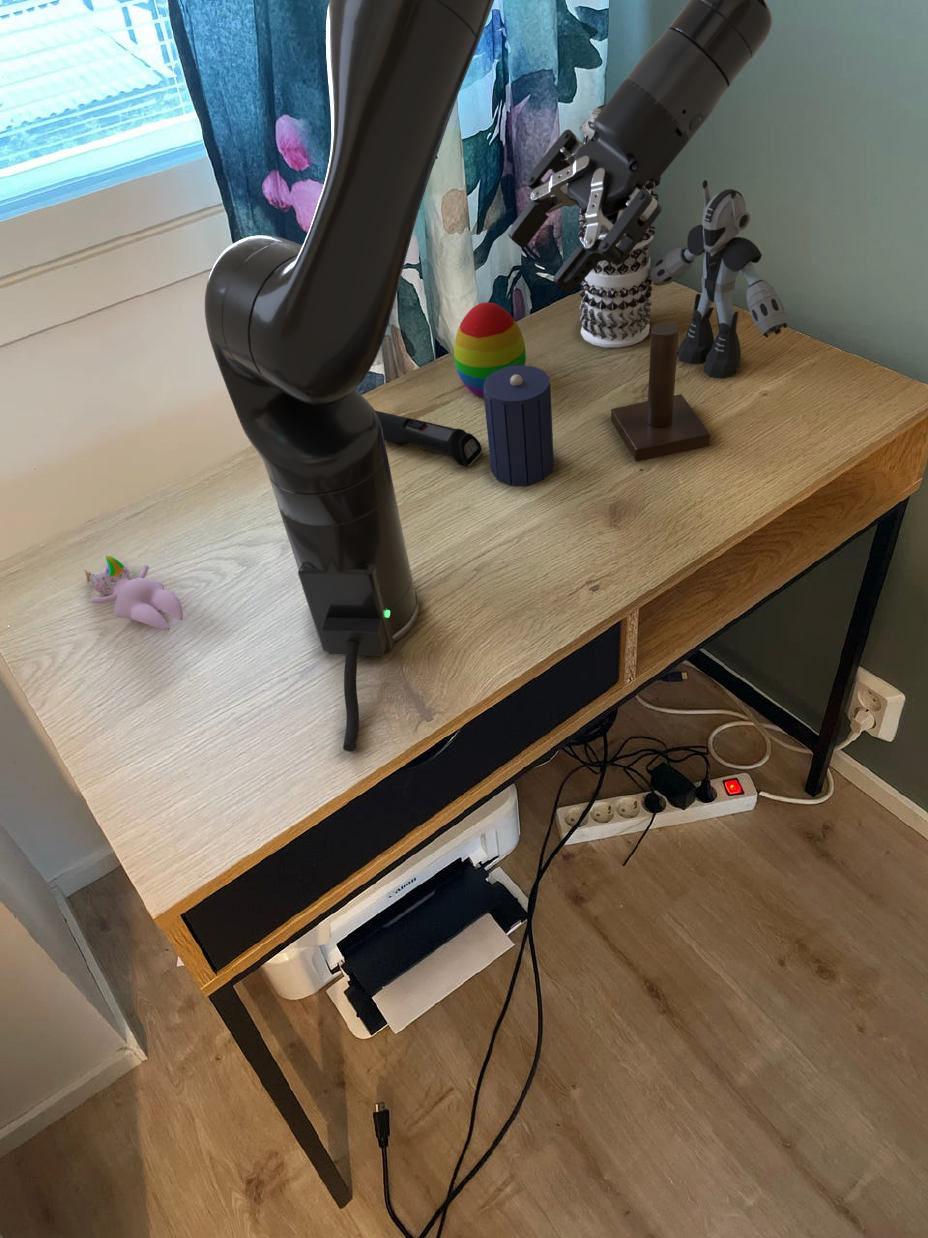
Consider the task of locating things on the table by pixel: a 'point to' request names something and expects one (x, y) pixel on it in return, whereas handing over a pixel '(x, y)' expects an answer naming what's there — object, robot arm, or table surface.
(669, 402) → the hat peg
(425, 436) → the electric trimmer
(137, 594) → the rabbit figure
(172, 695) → the table surface
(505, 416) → the slatted storage jar
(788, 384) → the table surface
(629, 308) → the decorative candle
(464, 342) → the decorative egg
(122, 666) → the table surface
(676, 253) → the robot
